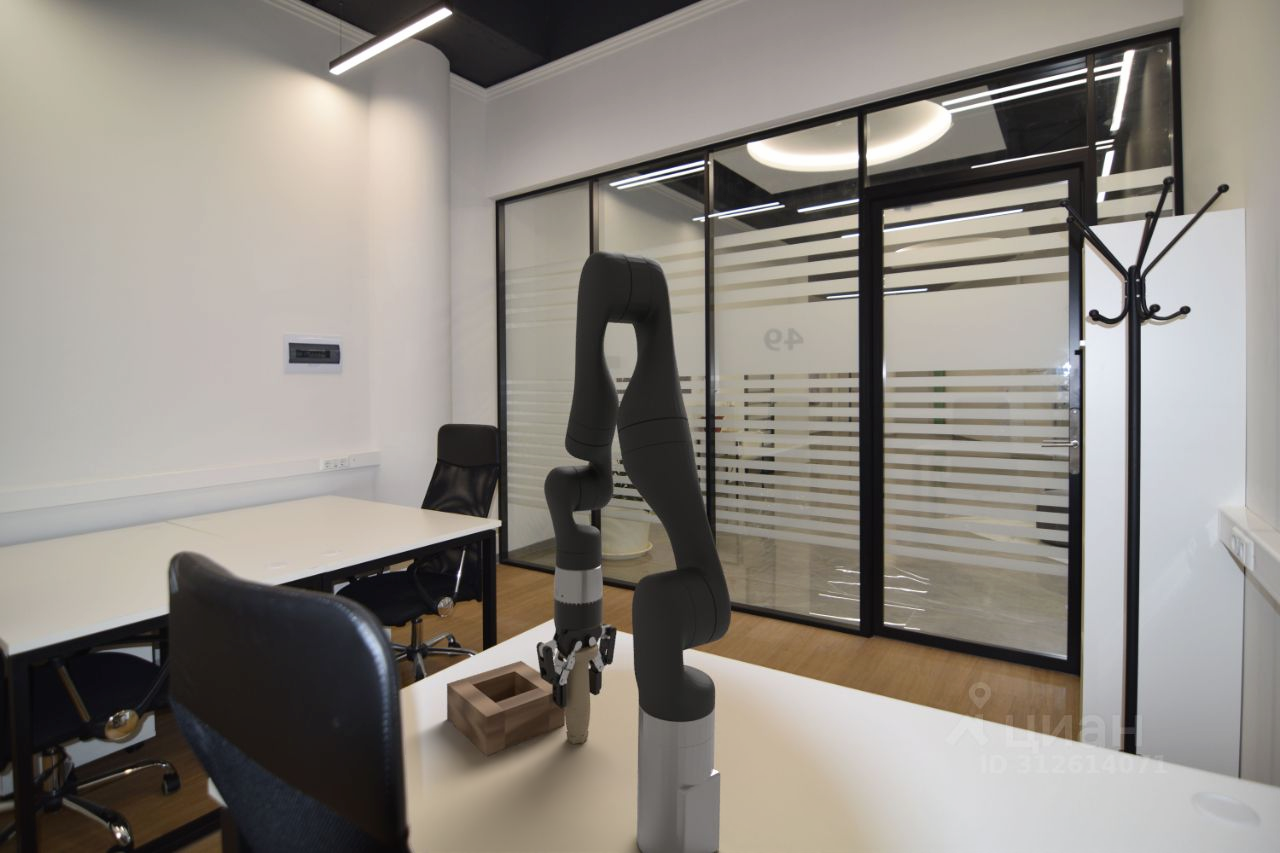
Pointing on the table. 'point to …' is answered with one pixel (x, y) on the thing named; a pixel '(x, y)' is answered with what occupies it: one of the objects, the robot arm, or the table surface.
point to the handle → (579, 695)
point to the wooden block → (503, 707)
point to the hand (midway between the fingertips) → (577, 698)
